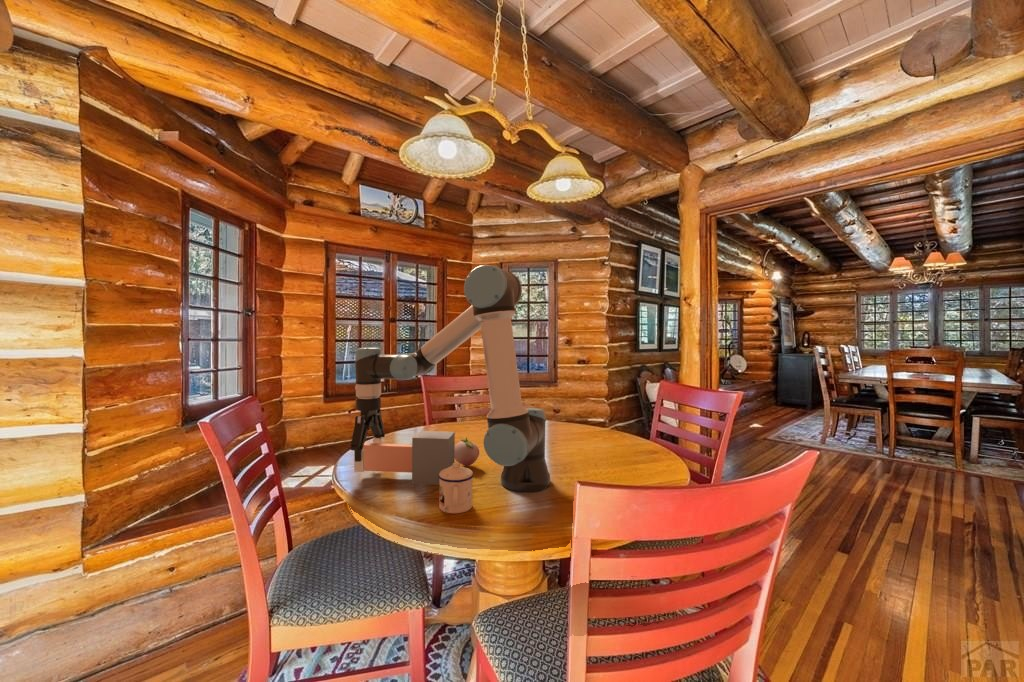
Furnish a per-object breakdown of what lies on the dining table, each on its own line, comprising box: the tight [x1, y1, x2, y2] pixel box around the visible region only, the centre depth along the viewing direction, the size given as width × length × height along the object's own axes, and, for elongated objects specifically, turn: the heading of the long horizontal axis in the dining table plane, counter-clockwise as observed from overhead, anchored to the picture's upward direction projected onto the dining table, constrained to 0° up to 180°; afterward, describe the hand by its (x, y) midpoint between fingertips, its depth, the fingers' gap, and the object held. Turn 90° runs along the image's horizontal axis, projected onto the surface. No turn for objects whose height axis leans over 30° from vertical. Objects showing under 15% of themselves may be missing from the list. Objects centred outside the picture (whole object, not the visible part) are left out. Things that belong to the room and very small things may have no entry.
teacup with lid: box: [438, 461, 474, 514], centre depth 108 cm, size 12×9×12 cm
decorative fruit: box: [454, 437, 480, 468], centre depth 141 cm, size 9×8×10 cm
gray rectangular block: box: [411, 430, 456, 486], centre depth 129 cm, size 11×9×14 cm
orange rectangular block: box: [363, 442, 412, 474], centre depth 130 cm, size 16×2×8 cm, turn 86°
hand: (368, 464), depth 130 cm, fingers open, 13 cm apart
